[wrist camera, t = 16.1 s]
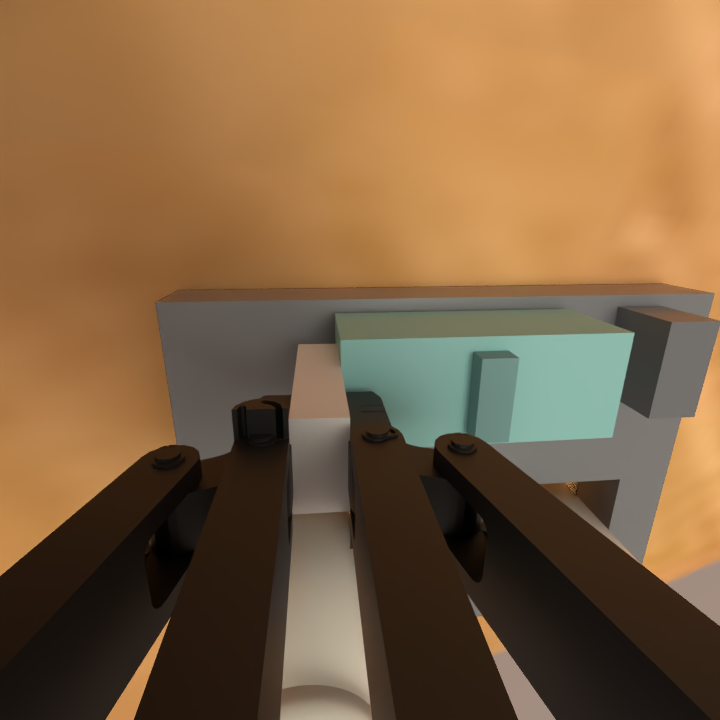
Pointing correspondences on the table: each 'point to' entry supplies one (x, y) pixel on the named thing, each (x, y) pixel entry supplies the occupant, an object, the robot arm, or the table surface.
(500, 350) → the lid
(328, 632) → the white cylinder
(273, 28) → the table surface
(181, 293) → the housing
